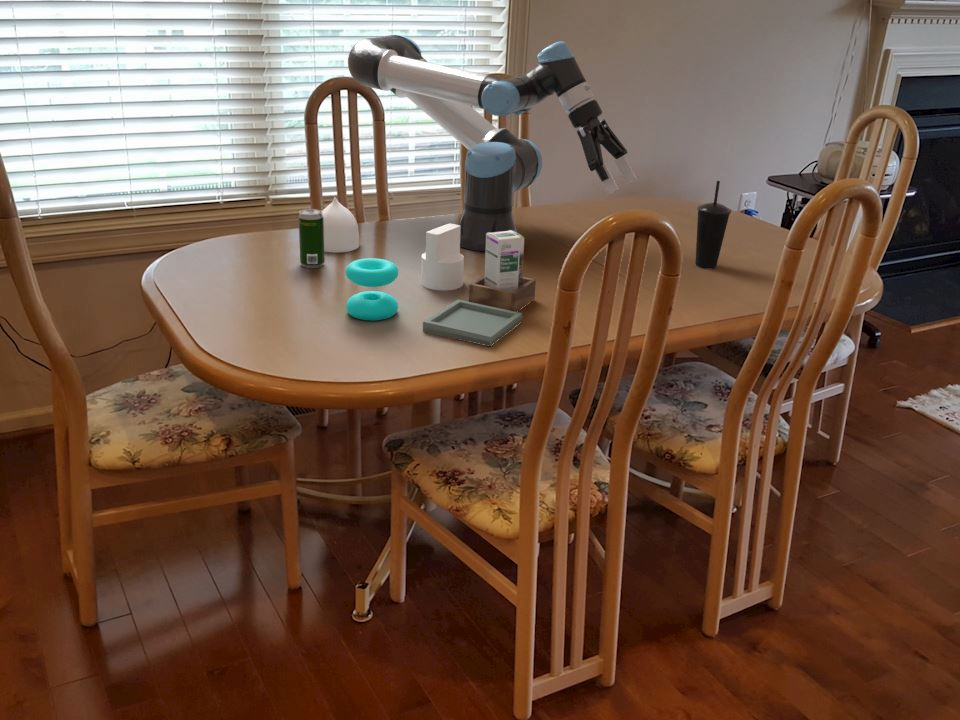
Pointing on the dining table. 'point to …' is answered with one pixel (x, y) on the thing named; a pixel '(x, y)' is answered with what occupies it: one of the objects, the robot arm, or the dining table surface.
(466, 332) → the tray
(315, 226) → the beer can
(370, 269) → the donuts
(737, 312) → the dining table surface
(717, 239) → the drinking cup
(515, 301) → the brown square open box
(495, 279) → the syrup box
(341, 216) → the teardrop
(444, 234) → the cylinder with rectangular tab
